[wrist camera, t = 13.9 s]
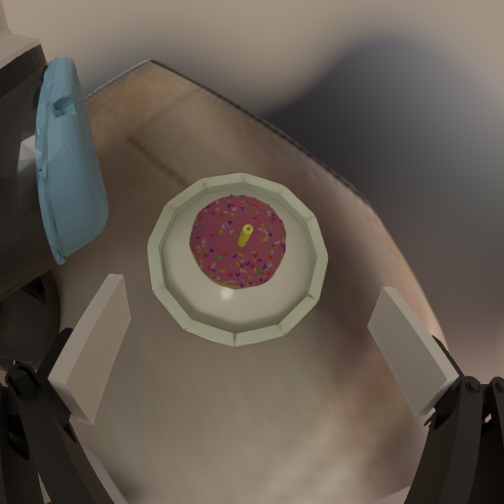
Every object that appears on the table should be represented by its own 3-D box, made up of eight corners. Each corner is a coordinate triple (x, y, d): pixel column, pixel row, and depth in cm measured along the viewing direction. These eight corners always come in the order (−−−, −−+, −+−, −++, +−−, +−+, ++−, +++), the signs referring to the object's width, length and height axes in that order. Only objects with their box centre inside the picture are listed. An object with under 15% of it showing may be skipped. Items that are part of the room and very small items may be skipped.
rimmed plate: (129, 309, 26) (121, 306, 24) (191, 168, 32) (189, 156, 30) (294, 365, 26) (301, 367, 24) (331, 214, 32) (339, 204, 30)
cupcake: (282, 292, 28) (324, 256, 16) (196, 301, 26) (180, 270, 15) (269, 214, 30) (297, 144, 19) (191, 220, 29) (178, 149, 18)
